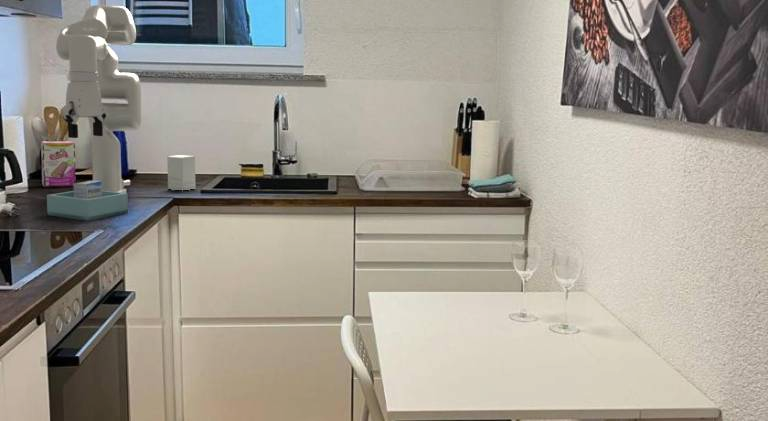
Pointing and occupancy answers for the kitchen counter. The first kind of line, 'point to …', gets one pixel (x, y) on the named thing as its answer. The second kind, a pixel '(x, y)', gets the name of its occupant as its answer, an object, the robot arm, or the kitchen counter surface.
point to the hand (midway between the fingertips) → (85, 136)
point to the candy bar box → (58, 163)
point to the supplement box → (181, 172)
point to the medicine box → (88, 189)
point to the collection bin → (87, 205)
